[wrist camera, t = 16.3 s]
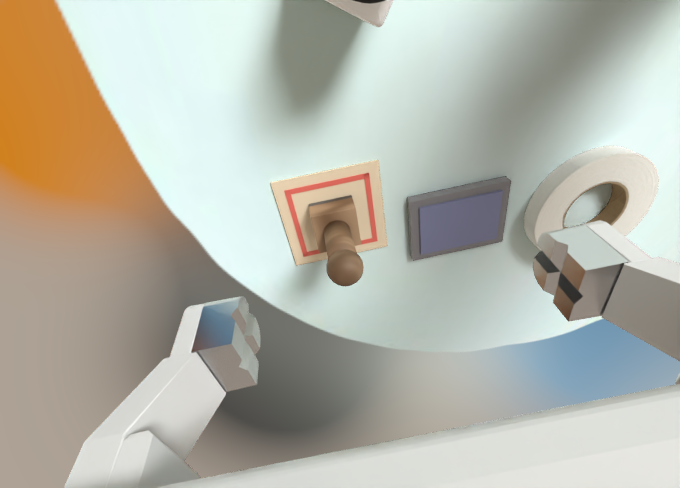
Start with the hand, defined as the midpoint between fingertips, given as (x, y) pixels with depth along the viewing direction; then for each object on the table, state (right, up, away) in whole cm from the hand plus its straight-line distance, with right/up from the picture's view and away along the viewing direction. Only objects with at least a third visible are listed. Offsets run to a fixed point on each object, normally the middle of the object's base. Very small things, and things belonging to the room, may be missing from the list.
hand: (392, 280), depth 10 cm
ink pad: (+13, +4, +35) cm, 38 cm away
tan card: (-2, +4, +33) cm, 33 cm away
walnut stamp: (-2, +4, +32) cm, 33 cm away
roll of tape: (+30, +7, +37) cm, 48 cm away
